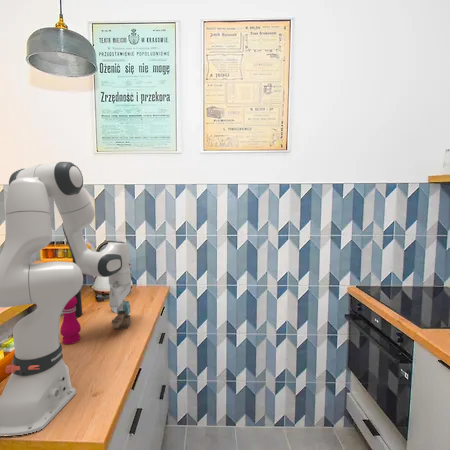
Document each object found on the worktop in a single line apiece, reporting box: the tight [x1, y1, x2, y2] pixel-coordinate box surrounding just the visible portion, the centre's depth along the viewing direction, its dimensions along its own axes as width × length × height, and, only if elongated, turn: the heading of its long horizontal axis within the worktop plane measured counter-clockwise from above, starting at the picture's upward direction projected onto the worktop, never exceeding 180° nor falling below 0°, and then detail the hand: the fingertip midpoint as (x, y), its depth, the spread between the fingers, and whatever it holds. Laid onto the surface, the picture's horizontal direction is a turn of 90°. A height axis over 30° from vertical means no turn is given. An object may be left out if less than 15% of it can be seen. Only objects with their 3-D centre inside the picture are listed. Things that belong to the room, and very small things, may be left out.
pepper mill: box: [59, 296, 82, 345], centre depth 124 cm, size 7×7×20 cm
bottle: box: [75, 288, 83, 319], centre depth 148 cm, size 7×7×20 cm
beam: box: [111, 311, 132, 330], centre depth 136 cm, size 20×6×8 cm, turn 3°
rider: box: [116, 300, 131, 316], centre depth 139 cm, size 4×5×5 cm
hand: (121, 309), depth 136 cm, fingers closed
